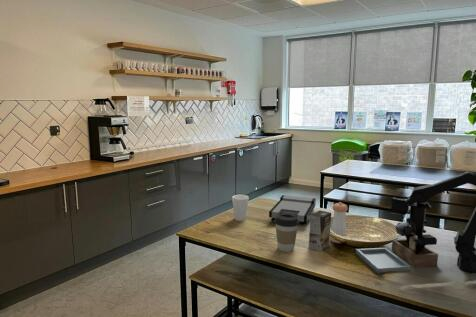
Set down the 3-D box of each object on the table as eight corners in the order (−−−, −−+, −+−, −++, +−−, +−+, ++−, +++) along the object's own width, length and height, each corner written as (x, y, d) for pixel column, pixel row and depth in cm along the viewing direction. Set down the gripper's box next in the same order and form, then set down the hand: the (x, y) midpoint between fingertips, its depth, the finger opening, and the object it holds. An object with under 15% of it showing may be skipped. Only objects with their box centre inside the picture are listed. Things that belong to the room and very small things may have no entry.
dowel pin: (420, 259, 145) (422, 239, 143) (411, 260, 144) (413, 239, 143) (414, 255, 149) (416, 235, 147) (405, 255, 148) (407, 236, 147)
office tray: (268, 223, 190) (269, 209, 189) (282, 207, 220) (282, 195, 218) (306, 228, 183) (307, 213, 181) (315, 211, 212) (315, 198, 211)
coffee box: (321, 251, 154) (322, 217, 151) (308, 247, 158) (309, 214, 155) (329, 245, 161) (331, 212, 158) (317, 241, 165) (318, 209, 162)
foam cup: (229, 217, 198) (229, 195, 196) (243, 215, 202) (244, 194, 200) (236, 222, 190) (236, 200, 188) (251, 220, 194) (251, 198, 192)
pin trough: (436, 268, 140) (438, 254, 139) (414, 269, 138) (415, 255, 137) (411, 251, 155) (413, 238, 154) (391, 252, 154) (392, 239, 153)
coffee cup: (299, 244, 161) (300, 214, 159) (297, 255, 150) (298, 222, 148) (275, 242, 164) (276, 212, 162) (271, 251, 153) (272, 219, 151)
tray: (410, 272, 136) (411, 266, 135) (377, 274, 134) (378, 268, 133) (385, 252, 153) (385, 247, 153) (355, 254, 151) (356, 249, 151)
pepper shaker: (327, 240, 167) (329, 202, 164) (335, 236, 172) (337, 199, 169) (341, 244, 162) (343, 205, 159) (348, 240, 167) (351, 202, 164)
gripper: (386, 210, 152) (384, 244, 154) (413, 225, 133) (410, 263, 136) (409, 210, 153) (406, 243, 156) (439, 224, 135) (435, 261, 137)
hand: (413, 252), depth 146 cm, fingers closed on dowel pin, 4 cm apart
